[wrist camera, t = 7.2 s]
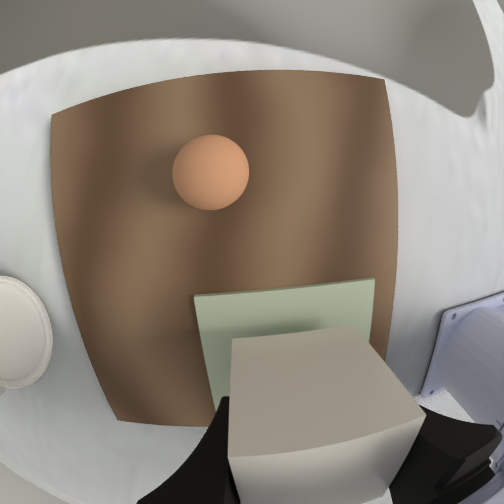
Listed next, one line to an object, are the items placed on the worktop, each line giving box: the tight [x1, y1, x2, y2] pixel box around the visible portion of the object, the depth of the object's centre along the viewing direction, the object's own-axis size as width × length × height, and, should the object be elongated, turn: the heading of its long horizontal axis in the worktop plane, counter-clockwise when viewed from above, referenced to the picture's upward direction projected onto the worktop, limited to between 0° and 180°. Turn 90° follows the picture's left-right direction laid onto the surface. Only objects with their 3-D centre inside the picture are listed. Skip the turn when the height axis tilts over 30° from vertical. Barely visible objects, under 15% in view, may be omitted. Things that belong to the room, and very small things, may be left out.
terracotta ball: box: [172, 135, 249, 210], centre depth 10 cm, size 3×3×3 cm
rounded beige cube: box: [228, 324, 426, 504], centre depth 9 cm, size 6×6×6 cm
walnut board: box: [50, 70, 398, 427], centre depth 13 cm, size 18×20×1 cm
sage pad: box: [194, 277, 375, 411], centre depth 14 cm, size 9×9×1 cm
